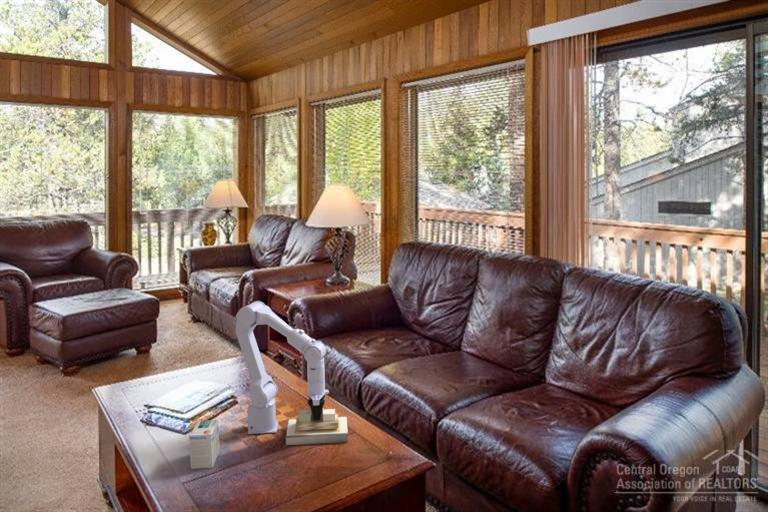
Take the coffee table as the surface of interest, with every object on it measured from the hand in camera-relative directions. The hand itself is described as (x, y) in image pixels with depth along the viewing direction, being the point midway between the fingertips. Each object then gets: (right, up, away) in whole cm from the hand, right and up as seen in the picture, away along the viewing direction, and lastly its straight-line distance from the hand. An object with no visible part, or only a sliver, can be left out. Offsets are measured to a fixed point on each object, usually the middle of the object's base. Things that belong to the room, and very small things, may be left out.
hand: (317, 417), depth 194 cm
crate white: (+4, -1, 0) cm, 4 cm away
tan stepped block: (0, -3, 0) cm, 3 cm away
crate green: (-4, -1, 0) cm, 4 cm away
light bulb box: (-33, -9, -16) cm, 37 cm away
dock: (0, -6, +1) cm, 6 cm away
